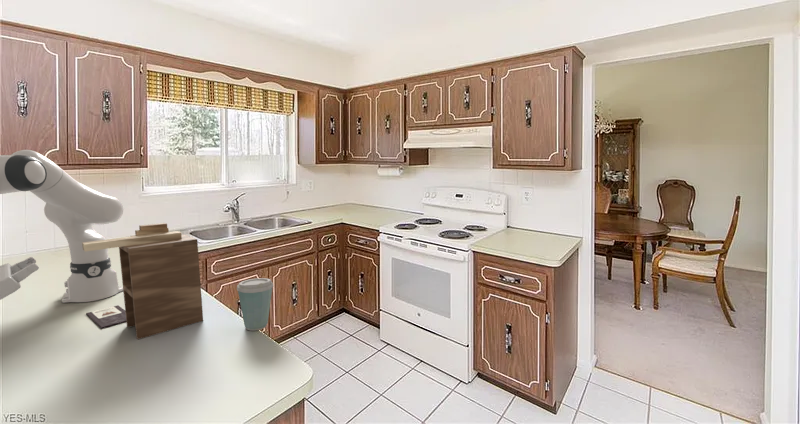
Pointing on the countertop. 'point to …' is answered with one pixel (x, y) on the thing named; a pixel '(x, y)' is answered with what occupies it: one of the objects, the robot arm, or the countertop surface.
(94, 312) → the chocolate bar
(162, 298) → the rack
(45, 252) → the countertop surface
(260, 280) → the disposable coffee cup
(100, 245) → the birch strip
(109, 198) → the robot arm
